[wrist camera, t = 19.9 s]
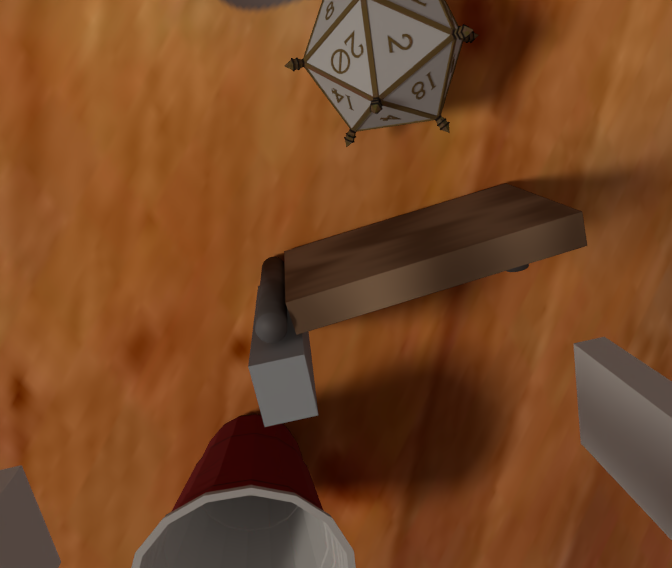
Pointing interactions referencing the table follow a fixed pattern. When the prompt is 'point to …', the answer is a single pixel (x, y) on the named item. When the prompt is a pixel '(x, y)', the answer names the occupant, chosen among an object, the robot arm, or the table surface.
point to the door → (412, 257)
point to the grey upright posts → (283, 376)
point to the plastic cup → (248, 508)
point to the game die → (384, 60)
